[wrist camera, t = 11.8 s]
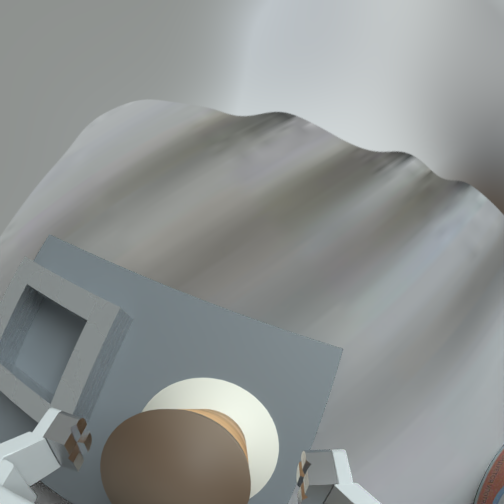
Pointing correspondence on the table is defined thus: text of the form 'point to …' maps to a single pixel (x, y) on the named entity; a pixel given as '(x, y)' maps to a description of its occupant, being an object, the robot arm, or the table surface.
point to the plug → (176, 459)
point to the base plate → (179, 373)
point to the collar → (83, 356)
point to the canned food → (492, 482)
